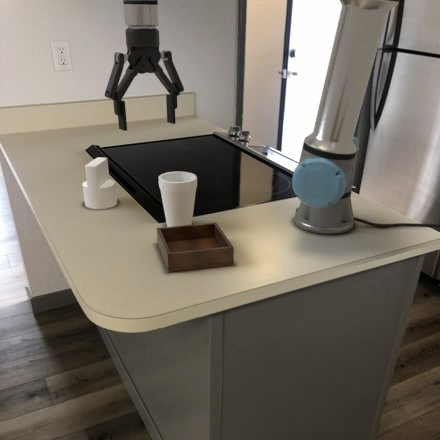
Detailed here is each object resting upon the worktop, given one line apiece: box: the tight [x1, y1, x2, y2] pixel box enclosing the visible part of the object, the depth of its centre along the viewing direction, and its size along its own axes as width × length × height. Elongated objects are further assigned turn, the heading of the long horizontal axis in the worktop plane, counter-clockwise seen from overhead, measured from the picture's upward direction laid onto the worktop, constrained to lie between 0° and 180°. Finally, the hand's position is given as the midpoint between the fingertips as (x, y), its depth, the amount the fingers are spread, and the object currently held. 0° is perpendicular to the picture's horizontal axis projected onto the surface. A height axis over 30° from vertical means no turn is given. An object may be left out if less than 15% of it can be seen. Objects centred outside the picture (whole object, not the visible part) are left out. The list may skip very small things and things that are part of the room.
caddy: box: [156, 222, 235, 273], centre depth 111 cm, size 15×15×4 cm
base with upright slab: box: [82, 156, 118, 210], centre depth 136 cm, size 9×9×12 cm
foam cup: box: [158, 171, 198, 227], centre depth 123 cm, size 10×9×13 cm
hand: (147, 126), depth 119 cm, fingers open, 13 cm apart
